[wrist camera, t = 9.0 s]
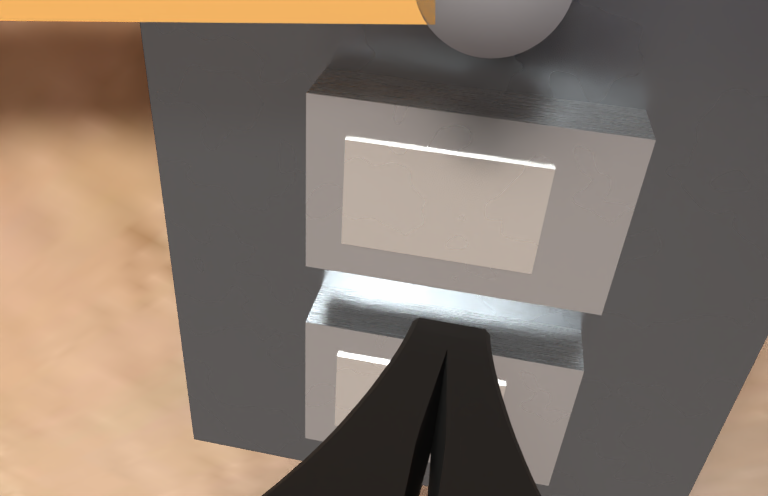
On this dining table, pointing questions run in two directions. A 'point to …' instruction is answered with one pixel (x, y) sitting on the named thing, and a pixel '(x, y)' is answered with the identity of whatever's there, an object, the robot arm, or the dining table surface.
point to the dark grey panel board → (599, 332)
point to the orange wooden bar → (330, 16)
